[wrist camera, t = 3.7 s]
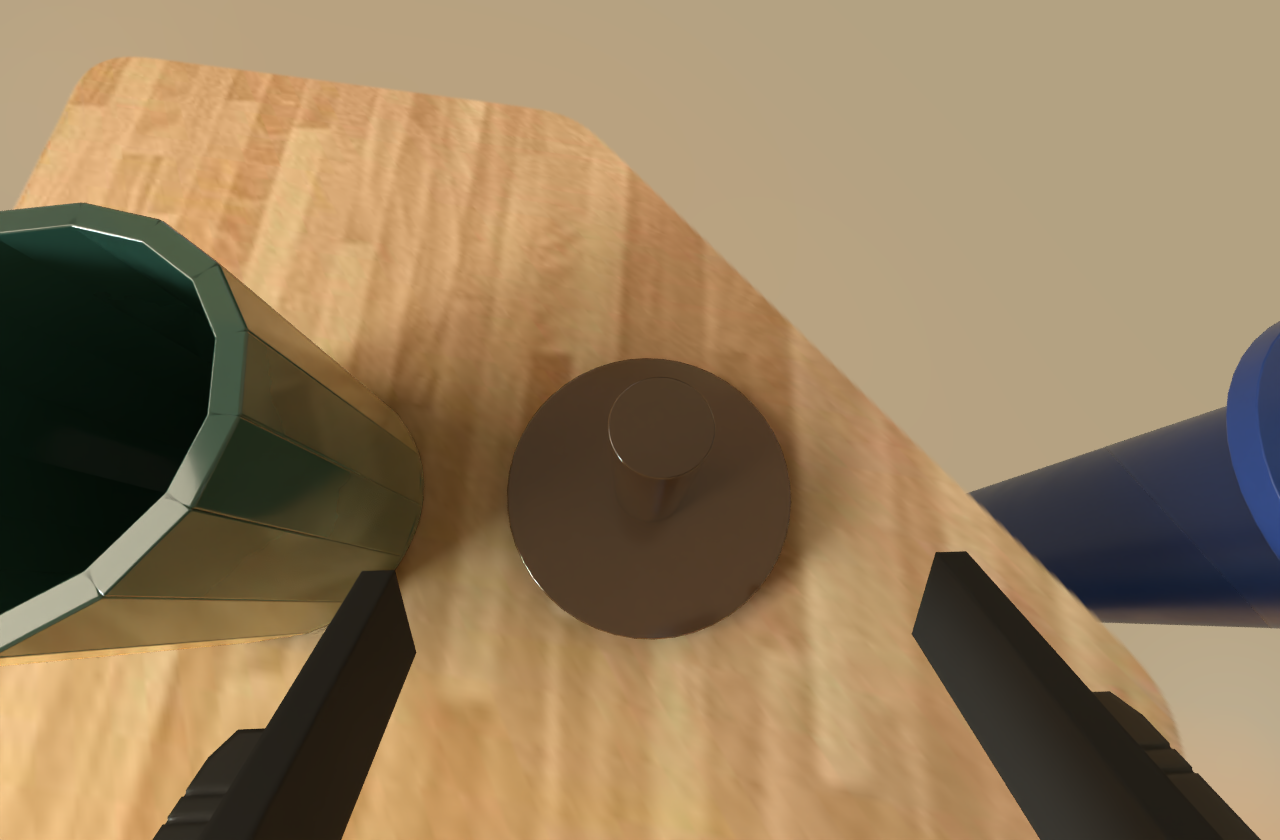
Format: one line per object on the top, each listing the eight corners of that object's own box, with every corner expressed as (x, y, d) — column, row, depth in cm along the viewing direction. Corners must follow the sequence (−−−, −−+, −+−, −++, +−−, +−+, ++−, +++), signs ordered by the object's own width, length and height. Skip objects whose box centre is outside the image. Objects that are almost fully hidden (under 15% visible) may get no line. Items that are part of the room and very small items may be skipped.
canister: (467, 544, 24) (314, 484, 12) (206, 697, 22) (-284, 802, 10) (366, 344, 27) (167, 143, 15) (128, 460, 25) (-316, 328, 13)
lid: (838, 537, 25) (965, 496, 15) (599, 699, 22) (580, 765, 13) (687, 326, 28) (717, 190, 19) (465, 448, 26) (376, 359, 16)
